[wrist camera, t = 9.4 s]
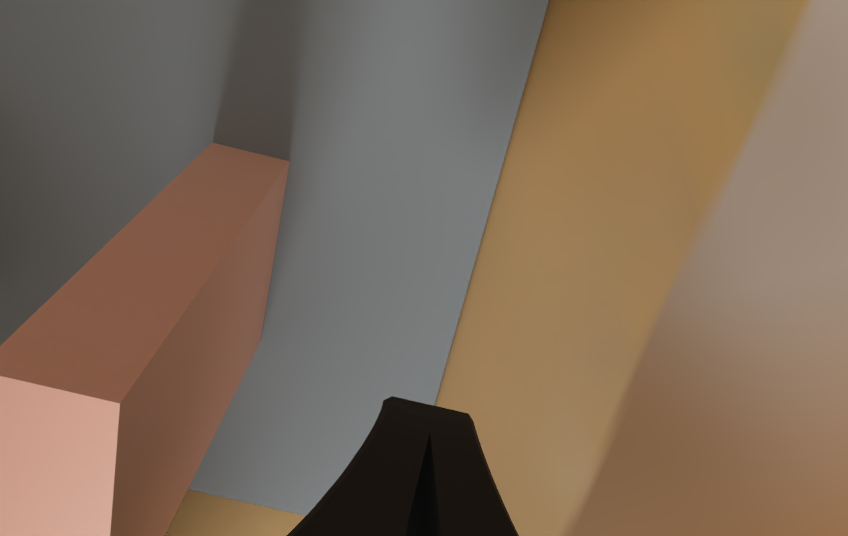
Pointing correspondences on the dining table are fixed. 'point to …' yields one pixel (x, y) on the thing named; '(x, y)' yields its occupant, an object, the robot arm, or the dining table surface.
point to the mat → (304, 193)
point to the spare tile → (139, 356)
